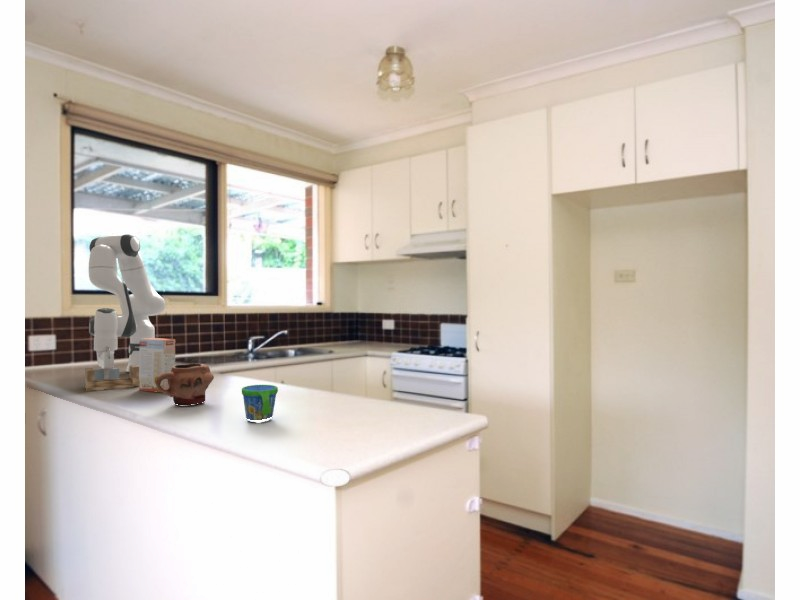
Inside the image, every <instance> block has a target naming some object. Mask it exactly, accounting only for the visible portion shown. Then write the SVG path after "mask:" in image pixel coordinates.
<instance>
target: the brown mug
mask: <svg viewBox="0 0 800 600" xmlns="http://www.w3.org/2000/svg"><path fill="white" fill-rule="evenodd" d="M164 379H168V385H169V389H168V390H164V389H162V388H161V386H160V384H161V381H162V380H164ZM214 379H215V375H214V374H213V373H212V372H211V369H210V367H209V366H208V365H207V364H204V363H188V364H178V365H177V364H175V366H173V367H172V369H171V372H169V373H164V374H161V375H160V376H159V377H158V378H157V380H156V386H157V387H158V389H159V390H160V391H161V392H163V393H162V394H164V395H166V396H168V397H170V398H173V399H172V400H173V404H174V403H175V404H178V405H191V404H197V403H202V402H204V401H205V402H206V391H207V389H208V388H209V385H210V384H212V382H213V380H214ZM205 402H204V403H205ZM175 404H174V405H175ZM202 404H203V403H202Z"/></svg>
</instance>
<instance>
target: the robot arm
mask: <svg viewBox="0 0 800 600" xmlns="http://www.w3.org/2000/svg"><path fill="white" fill-rule="evenodd" d="M88 249H89V253H90V254H89V257H88V258H89V260H88V277H89V281H90V283H91V284H92V285H94V286H95V287H96V288H98V289H100V290H103V291H106V292H109V293H111V294H113V295H115V296H116V297H117V298H118V300H119V305H120V306H119V308H120V310H121V313H122V314H121V315H117V311H116V309H113V308H108V307H107V308H105V307H104V308H98V309H96V310H95V314H94V316H93V317H91V319H89V320H88V322H89V328H88V333H89V334H90V335H91V336H93V351H95V352H96V361H97V365H98V366H99V367H100V368H101V369H104V379H108V378H109V372H110V370H113V369H114V368H115V355H114V354H115V351H117V350H119V349H118V348H119V347H118V345H119V343H118V341H119V339H118V338H119V337H120V338H129V343H128V354H129V357H128V364H127V367H126V370H125V371H126V373H127V372H128V373H130V365H137V366H139V349H140V339H143V338H156V336H155V335H156V334H155V333H156V331H155V330H156V329H155V325H153V324H152V322H151V320H150V318H149V317H151V316H157V315H160V314H163V312H164V311H165V310H166V301H165V299H164V297H163V296H161V295H160V294H158V292H157V291H156V289H155V288H154V286H153V285H152V283H151V281H150V279H149V276H148V272H147V270H146V267H145V266H146V265H145V263H144V258H143V257H142V255H141V253H140V250H141V244H140V241H139V238H138V237H137V236H135V234H132V233H123V234H121V233H119V234H111V235H104V236H98V237H95V238H93V239H92V240H91V242H90V243H89V248H88ZM118 268H119V272H120V275H121V278H122V279H121V278H120V275H119V274H118ZM129 291H130V292H131V293H132V294H129Z"/></svg>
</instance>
